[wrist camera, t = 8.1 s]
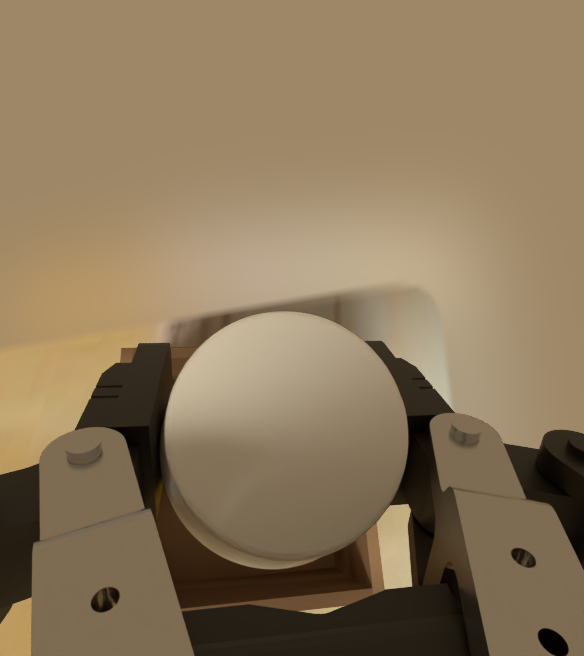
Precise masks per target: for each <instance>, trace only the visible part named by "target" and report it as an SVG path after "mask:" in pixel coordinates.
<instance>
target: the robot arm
mask: <svg viewBox="0 0 584 656" xmlns="http://www.w3.org/2000/svg"><path fill="white" fill-rule="evenodd" d="M364 342H365V343H367V344H368V345H369V346H370V347H371V348H372V349H373V350H374V352H375V353H376V354H377V355H378V356H379V358H380V359H381V360H382V361H383V363H384V364H385V365H386V367H387V368H388V370H389V372H390V373H391V375H392V377H393V379H394V381H395V383H396V385H397V387H398V390H399V392H400V395H401V398H402V400H403V403H404V407H405V411H406V416H407V425H408V454H407V460H406V465H405V470H404V473H403V476H402V479H401V482H400V485H399V488H398V490H397V492H396V494H395V496H394V498H393V500H392V502H391V504H390V505H401V504H408V505H409V507H410V509H411V513H410V517H409V522H408V535H409V548H410V561H411V575H412V587H405V588H396V589H386V590H383V591H381V592H378V593H376V594H374V595H371V596H369V597H366V598H364V599H361V600H359V601H356V602H354V603H351V604H349V605H347V606H344V607H342V608H339V609H337V610H334V611H332V612H329V613H326V614H312V613H306V612H299V611H292V610H285V609H279V608H272V607H265V606H258V605H252V604H246V605H237V606H227V607H218V608H208V609H199V610H190V611H181V609H180V605H179V602H178V598H177V595H176V592H175V588H174V585H173V582H172V578H171V575H170V571H169V568H168V565H167V561H166V558H165V555H164V551H163V548H162V544H161V541H160V538H159V534H158V531H157V528H156V524H155V522H157V517H158V510H159V504H160V498H161V492H162V485H163V479H162V474H161V468H160V458H159V443H160V433H161V428H162V423H163V419H164V416H165V413H166V410H167V406H168V402H169V398H170V394H171V391H172V389H173V381H172V362H171V348H170V343H139V344H138V347H137V349H136V352H135V354H134V357H133V360H132V362H131V363H115V364H114V365H113V366H112V367H110V368H109V369H108V370H106V371H105V372H104V373H102V375H101V377H100V379H99V381H98V383H97V385H96V388H95V389H94V391H93V393H92V395H91V399H90V400H89V402H88V404H87V406H86V408H85V410H84V412H83V414H82V416H81V418H80V420H79V422H78V424H77V426H76V428H75V430H74V431H72V432H69V433H66V434H64V435H62V436H60V437H58V438H57V439H55V440H54V441H52V442H51V443H50V444H49V445H48V446H47V447H46V448H45V449H44V450H43V452H42V454H41V456H40V461H39V464H37V465H34V466H31V467H28V468H25V469H21V470H18V471H14V472H10V473H6V474H2V475H0V623H1V622H2V621H3V619H4V618H5V616H6V615H7V614H8V612H9V610H10V609H11V607H12V605H13V604H14V603H17V602H20V601H22V600H25V599H28V598H30V597H32V622H31V656H584V434H582V433H579V432H574V431H568V430H553V431H550V432H547V433H546V434H545V435H544V437H543V440H542V443H541V446H540V448H539V449H534V448H528V447H521V446H515V445H509V444H504V443H503V441H502V439H501V437H500V435H499V434H498V432H497V431H496V430H495V429H494V428H493V427H491V426H490V425H488V424H487V423H485V422H483V421H482V420H479V419H477V418H474V417H472V416H468V415H464V414H458V413H455V412H454V411H453V410H452V409H451V408H450V406H449V405H448V404H447V403H446V402H445V400H444V399H443V398H442V397H441V396H440V395H439V393H438V392H437V391H436V390H435V389H433V386H432V385H431V384H430V383H429V382H428V380H425V377H424V376H423V375H422V373H421V372H420V371H419V370H418V369H417V367H415V366H413V365H412V364H410V363H408V362H407V361H405V360H403V359H402V358H395V357H394V355H393V354H392V353H391V351H390V350H389V349H388V348H387V346H386V345H385V344H384V343H383V342H382V341H364Z"/></svg>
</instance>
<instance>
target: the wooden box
mask: <svg viewBox="0 0 584 656" xmlns="http://www.w3.org/2000/svg"><path fill="white" fill-rule="evenodd" d="M170 348H171V362H172V381H173V386H174V384H175V382H176V380H177V377H178V375H179V374H180V372H181V370H182V369H183V367H184V365H185V364H186V362H187V361H188V360H189V358H190V357H191V356H192V355H193V353H194V352H195V351H196V350H197V349H198V348H199V347H170ZM136 349H137V348H121V360H120V363H131V362H132V360H133V357H134V354H135V352H136ZM155 524H156V528H157V531H158V534H159V538H160V541H161V544H162V548H163V551H164V555H165V558H166V561H167V565H168V568H169V571H170V575H171V578H172V582H173V585H174V588H175V592H176V595H177V598H178V602H179V605H180V609H181V611H190V610H199V609H208V608H218V607H227V606H237V605H246V604H252V605H258V606H265V607H272V608H279V609H285V610H292V611H302V610H311V609H320V608H329V607H338V606H347V605H349V604H351V603H354V602H356V601H359V600H361V599H364V598H366V597H369V596H371V595H374V594H376V593H378V592H381V591H383V590H385V589H384V581H383V573H382V565H381V556H380V548H379V540H378V532H377V524H376V523H375V524H374V525H373V526H372V527H371V528H370V529H369V530H368V531H367V532H366V533H365V534H363V535H362V536H361V537H360V538H358V539H357V540H355V541H354V542H353V543H351V544H350V545H348V546H346V547H344V548H343V549H341V550H338V551H336V552H333V553H331V554H328V555H326V556H323V557H320V558H318V559H316V560H314V561H312V562H309V563H307V564H304V565H299V566H295V567H291V568H284V569H261V568H253V567H248V566H245V565H241V564H238V563H235V562H232V561H230V560H228V559H225V558H223V557H221V556H219V555H218V554H216V553H214V552H213V551H211V550H210V549H208V548H207V547H206V546H204V545H203V544H202V543H201V542H199V541H198V540H197V539H196V538H195V537H194V536H193V535H192V534H191V533H190V532H189V531H188V529H187V528H186V527H185V526H184V524H183V523H182V522H181V520H180V519H179V517H178V516H177V514H176V512H175V510H174V509H173V507H172V505H171V502H170V500H169V497H168V495H167V493H166V489H165V486H164V483H163V485H162V492H161V498H160V504H159V510H158V517H157V522H155Z"/></svg>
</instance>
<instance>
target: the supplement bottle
mask: <svg viewBox="0 0 584 656" xmlns="http://www.w3.org/2000/svg"><path fill="white" fill-rule="evenodd" d="M407 454H408V425H407V416H406V411H405V407H404V403H403V400H402V398H401V395H400V392H399V390H398V387H397V385H396V383H395V381H394V379H393V377H392V375H391V373H390V372H389V370H388V368H387V367H386V365H385V364H384V363H383V361H382V360H381V359H380V358H379V356H378V355H377V354H376V353H375V352H374V350H373V349H372V348H371V347H370V346H369V345H368V344H367V343H365V342H364V341H363V340H362V339H360V338H359V337H358V336H357V335H355V334H354V333H352V332H351V331H349V330H348V329H346V328H345V327H343V326H341V325H339V324H337V323H335V322H333V321H330V320H328V319H326V318H323V317H320V316H316V315H312V314H308V313H303V312H293V311H276V312H266V313H260V314H255V315H252V316H248V317H245V318H243V319H240V320H238V321H235V322H233V323H231V324H229V325H227V326H225V327H224V328H222V329H221V330H219V331H218V332H216V333H215V334H213V335H212V336H211V337H210V338H208V339H207V340H206V341H205V342H204V343H203V344H202V345H201V346H200V347H199V348H198V349H197V350H196V351H195V352H194V353H193V355H192V356H191V357H190V358H189V360H188V361H187V362H186V364H185V365H184V367H183V369H182V370H181V372H180V374H179V375H178V377H177V380H176V382H175V384H174V386H173V389H172V391H171V394H170V398H169V402H168V406H167V410H166V413H165V416H164V419H163V423H162V428H161V433H160V443H159V458H160V468H161V474H162V479H163V483H164V486H165V489H166V493H167V495H168V497H169V500H170V502H171V505H172V507H173V509H174V510H175V512H176V514H177V516H178V517H179V519H180V520H181V522H182V523H183V524H184V526H185V527H186V528H187V529H188V531H189V532H190V533H191V534H192V535H193V536H194V537H195V538H196V539H197V540H198V541H199V542H201V543H202V544H203V545H204V546H206V547H207V548H208V549H210V550H211V551H213V552H214V553H216V554H218V555H219V556H221V557H223V558H225V559H228V560H230V561H232V562H235V563H238V564H241V565H245V566H248V567H253V568H261V569H284V568H291V567H295V566H299V565H304V564H307V563H309V562H312V561H314V560H316V559H318V558H320V557H323V556H326V555H328V554H331V553H333V552H336V551H338V550H341V549H343V548H344V547H346V546H348V545H350V544H351V543H353V542H354V541H355V540H357V539H358V538H360V537H361V536H362V535H363V534H365V533H366V532H367V531H368V530H369V529H370V528H371V527H372V526H373V525H374V524H375V523H376V522H377V521H378V520H379V519H380V517H381V516H382V515H383V514H384V512H385V511H386V510H387V508H388V507H389V505H390V504H391V502H392V500H393V498H394V496H395V494H396V492H397V490H398V488H399V485H400V482H401V479H402V476H403V473H404V470H405V465H406V460H407Z"/></svg>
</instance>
